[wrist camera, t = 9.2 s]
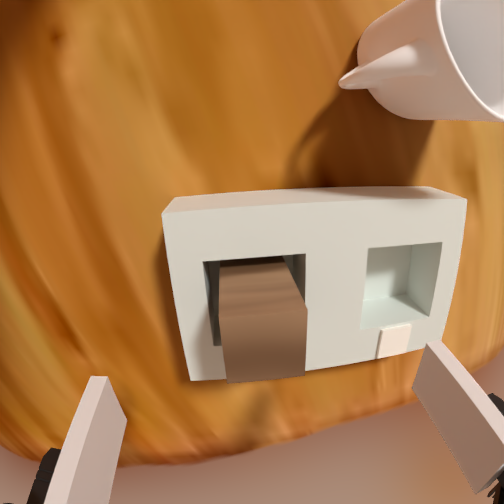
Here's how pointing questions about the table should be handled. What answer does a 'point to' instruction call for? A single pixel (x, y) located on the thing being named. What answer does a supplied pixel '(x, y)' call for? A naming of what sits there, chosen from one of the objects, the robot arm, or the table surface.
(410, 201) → the socket board
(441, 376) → the robot arm
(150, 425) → the table surface
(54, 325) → the table surface
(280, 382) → the table surface
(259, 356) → the plug
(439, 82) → the mug
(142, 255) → the table surface
